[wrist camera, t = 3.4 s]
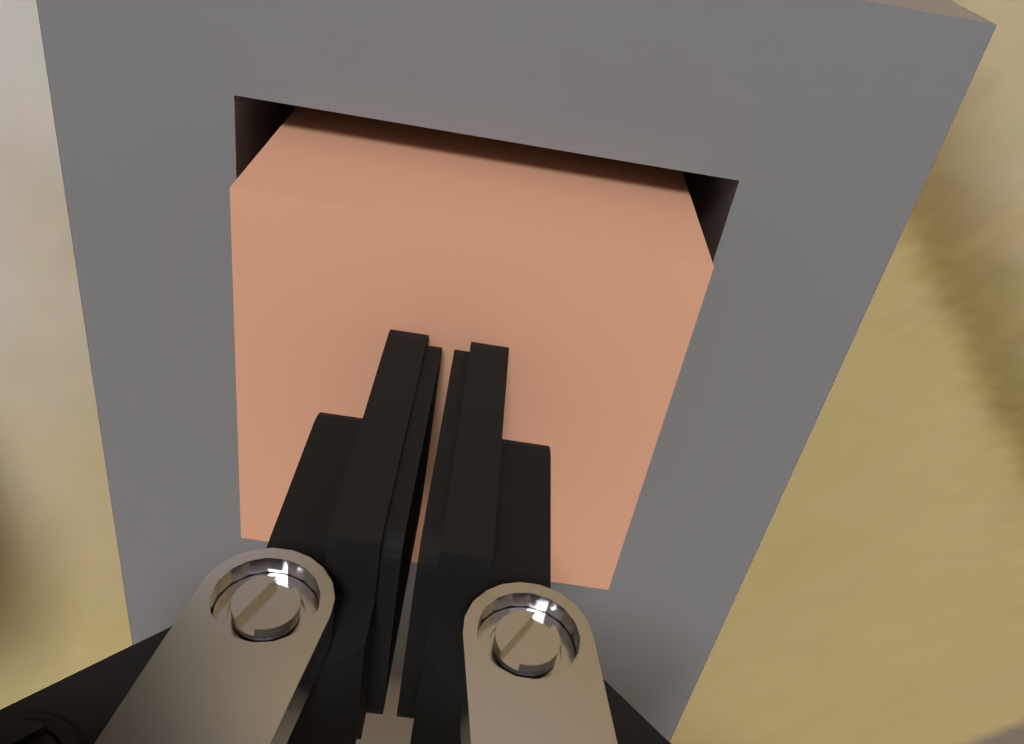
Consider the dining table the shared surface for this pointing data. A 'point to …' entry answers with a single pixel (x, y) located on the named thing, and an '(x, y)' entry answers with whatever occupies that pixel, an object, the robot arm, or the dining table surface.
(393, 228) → the terracotta key
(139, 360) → the key panel
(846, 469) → the dining table surface
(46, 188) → the dining table surface
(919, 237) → the dining table surface
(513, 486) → the robot arm
